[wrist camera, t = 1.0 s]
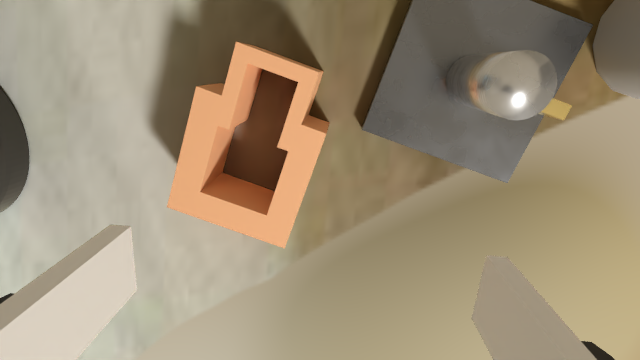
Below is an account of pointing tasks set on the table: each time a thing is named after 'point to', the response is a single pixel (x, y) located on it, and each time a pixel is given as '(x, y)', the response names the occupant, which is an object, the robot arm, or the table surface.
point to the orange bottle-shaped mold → (215, 138)
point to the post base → (432, 56)
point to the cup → (619, 47)
